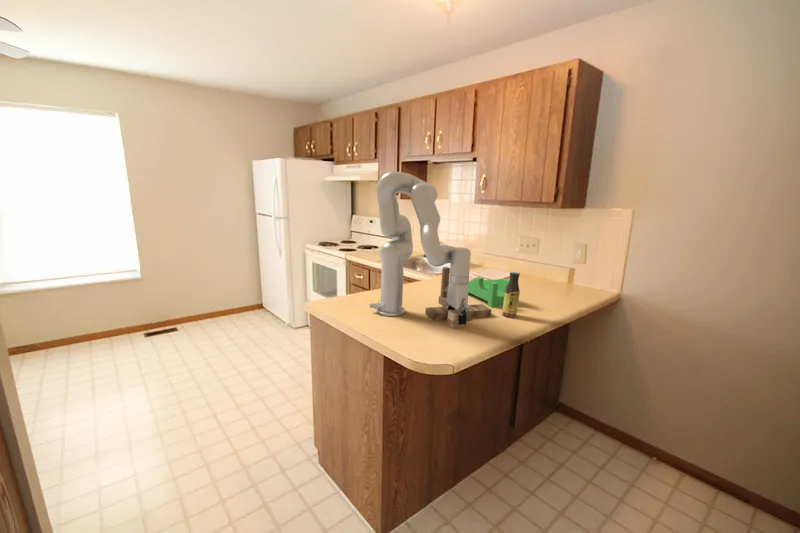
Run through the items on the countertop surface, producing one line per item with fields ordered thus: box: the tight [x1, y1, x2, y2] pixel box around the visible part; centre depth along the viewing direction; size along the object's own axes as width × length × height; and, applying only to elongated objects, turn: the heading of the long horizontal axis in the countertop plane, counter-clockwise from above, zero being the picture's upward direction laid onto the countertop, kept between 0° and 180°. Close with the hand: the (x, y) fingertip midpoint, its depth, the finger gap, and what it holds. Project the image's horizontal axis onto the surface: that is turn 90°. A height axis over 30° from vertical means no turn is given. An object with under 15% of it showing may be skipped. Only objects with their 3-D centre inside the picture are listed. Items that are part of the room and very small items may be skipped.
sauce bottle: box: [501, 271, 521, 318], centre depth 157 cm, size 7×6×20 cm
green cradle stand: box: [468, 276, 510, 308], centre depth 182 cm, size 24×13×12 cm, turn 24°
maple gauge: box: [446, 309, 474, 329], centre depth 144 cm, size 10×4×6 cm, turn 108°
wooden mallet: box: [438, 266, 450, 307], centre depth 167 cm, size 4×11×18 cm, turn 26°
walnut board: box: [424, 303, 492, 321], centre depth 156 cm, size 28×8×3 cm, turn 108°
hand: (456, 320), depth 143 cm, fingers open, 9 cm apart
